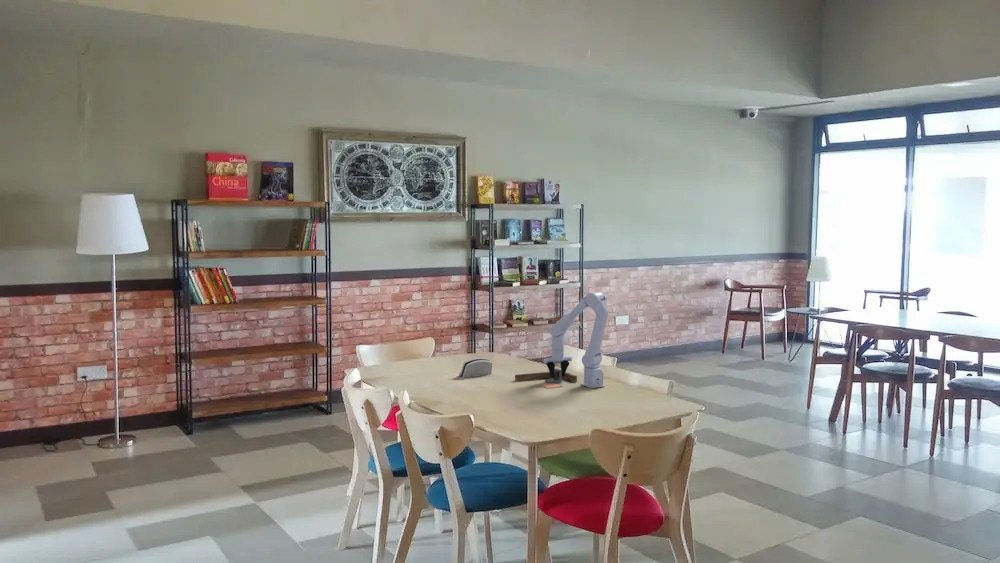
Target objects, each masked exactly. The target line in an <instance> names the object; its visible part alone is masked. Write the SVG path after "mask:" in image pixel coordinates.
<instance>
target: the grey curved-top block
mask: <svg viewBox="0 0 1000 563" xmlns="http://www.w3.org/2000/svg"><path fill="white" fill-rule="evenodd" d="M492 370H493V362H492V361H491V360H490V359H489V358H484V357H475V358H471V359H468V360H466V361H464V362H463V365H462V367H461V370H460V372H459V374H458V376H459V377H462V378H463V377H465V378H472V377H471V376H473V377H479V376H478V375H481V376H487V375H488V374H489V375H492Z"/></svg>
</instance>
